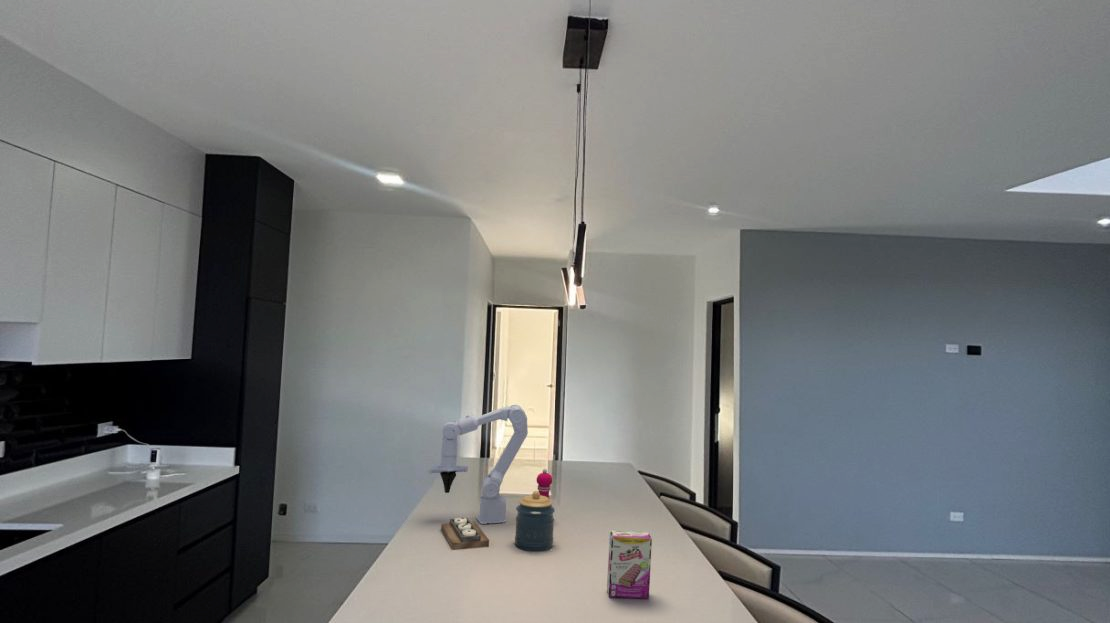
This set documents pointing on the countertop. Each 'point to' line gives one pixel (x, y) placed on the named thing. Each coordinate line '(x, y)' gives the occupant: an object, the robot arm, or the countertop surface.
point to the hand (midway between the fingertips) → (446, 492)
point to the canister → (534, 523)
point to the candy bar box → (629, 564)
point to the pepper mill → (544, 483)
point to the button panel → (462, 542)
